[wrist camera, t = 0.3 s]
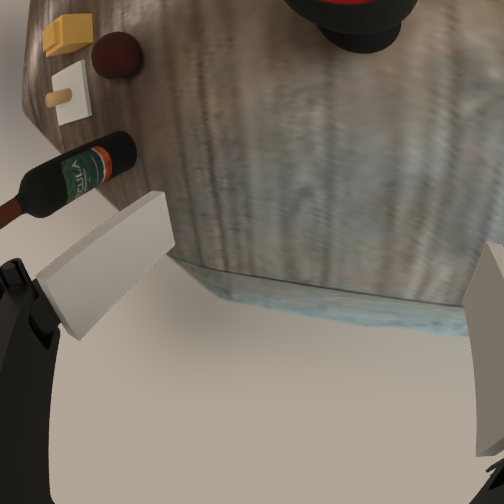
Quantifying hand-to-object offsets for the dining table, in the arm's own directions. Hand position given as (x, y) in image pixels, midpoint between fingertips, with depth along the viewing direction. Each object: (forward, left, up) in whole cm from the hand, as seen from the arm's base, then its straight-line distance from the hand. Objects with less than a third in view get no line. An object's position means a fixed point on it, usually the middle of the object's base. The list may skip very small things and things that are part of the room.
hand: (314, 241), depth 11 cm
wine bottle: (+3, -40, -28) cm, 48 cm away
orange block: (-23, -47, -28) cm, 59 cm away
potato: (-14, -34, -28) cm, 46 cm away
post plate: (-11, -53, -28) cm, 60 cm away
